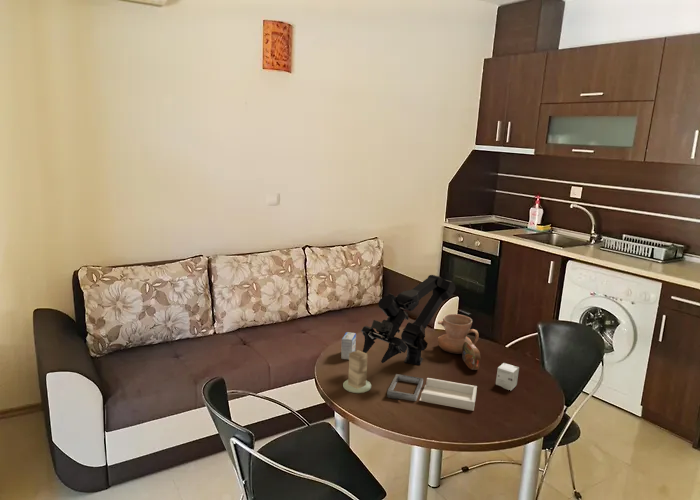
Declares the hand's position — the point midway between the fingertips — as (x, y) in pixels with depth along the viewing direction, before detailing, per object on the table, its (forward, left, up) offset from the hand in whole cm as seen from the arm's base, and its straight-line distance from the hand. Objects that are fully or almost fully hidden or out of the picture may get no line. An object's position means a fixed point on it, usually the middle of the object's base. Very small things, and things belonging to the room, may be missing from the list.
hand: (372, 358), depth 186 cm
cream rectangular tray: (+4, +29, -8) cm, 30 cm away
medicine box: (-17, -14, -9) cm, 24 cm away
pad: (+7, -3, -8) cm, 11 cm away
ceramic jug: (-40, +27, -9) cm, 49 cm away
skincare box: (-14, +48, -9) cm, 50 cm away
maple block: (+7, -3, -8) cm, 11 cm away
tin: (-27, +34, -9) cm, 44 cm away
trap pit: (+4, +14, -8) cm, 16 cm away
